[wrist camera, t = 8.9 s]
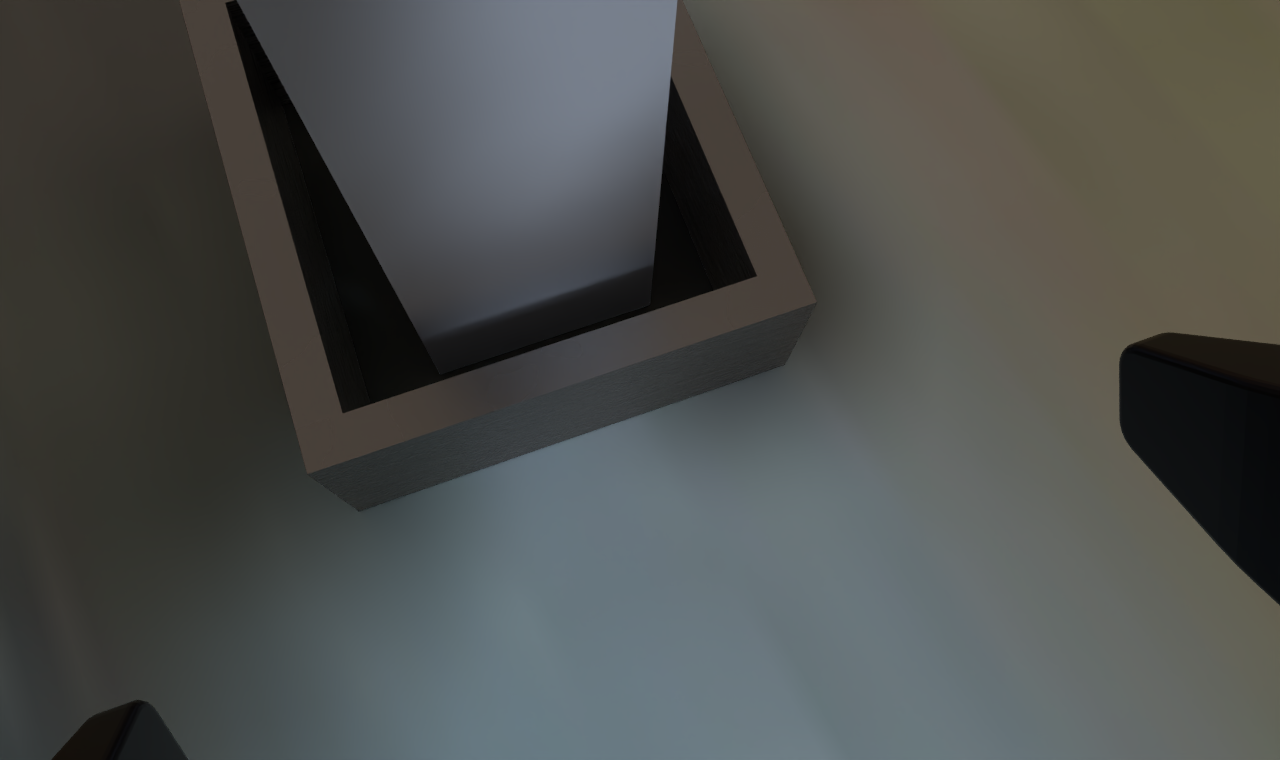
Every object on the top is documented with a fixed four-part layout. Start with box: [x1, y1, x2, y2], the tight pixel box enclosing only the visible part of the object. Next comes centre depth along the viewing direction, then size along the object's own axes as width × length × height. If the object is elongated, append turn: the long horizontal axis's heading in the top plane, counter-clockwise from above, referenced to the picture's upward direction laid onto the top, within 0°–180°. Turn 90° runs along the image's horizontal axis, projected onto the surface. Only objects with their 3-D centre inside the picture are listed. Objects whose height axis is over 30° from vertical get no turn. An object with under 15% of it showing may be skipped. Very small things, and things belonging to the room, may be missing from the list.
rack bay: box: [179, 0, 817, 511], centre depth 17 cm, size 9×8×4 cm
